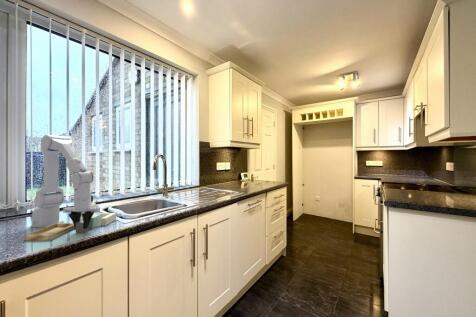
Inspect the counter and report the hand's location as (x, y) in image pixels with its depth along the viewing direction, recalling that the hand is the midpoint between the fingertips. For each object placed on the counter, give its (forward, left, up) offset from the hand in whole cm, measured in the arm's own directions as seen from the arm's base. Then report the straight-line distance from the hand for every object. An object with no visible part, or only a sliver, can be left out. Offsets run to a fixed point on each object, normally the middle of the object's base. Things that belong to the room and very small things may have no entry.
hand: (81, 228), depth 92 cm
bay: (0, +14, -2) cm, 14 cm away
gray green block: (0, +5, -2) cm, 5 cm away
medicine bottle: (-13, +24, -2) cm, 27 cm away
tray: (-11, -1, -2) cm, 11 cm away
